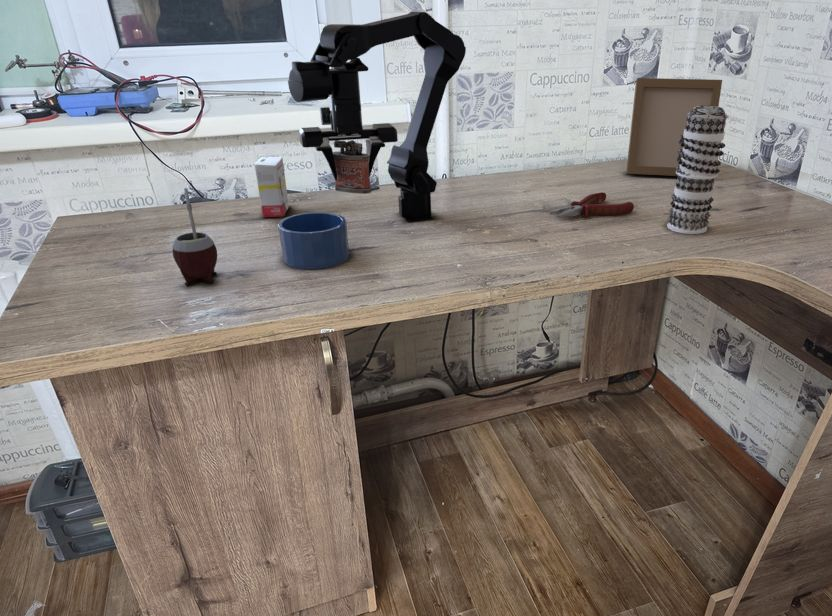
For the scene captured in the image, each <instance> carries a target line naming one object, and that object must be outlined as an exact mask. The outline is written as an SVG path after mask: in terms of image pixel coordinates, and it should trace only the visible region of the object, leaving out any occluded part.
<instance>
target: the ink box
mask: <svg viewBox="0 0 832 616" xmlns="http://www.w3.org/2000/svg"><path fill="white" fill-rule="evenodd" d="M253 165H254V170H255V176H256V182H257V183H256V184H257V190H258V197H259V203H260V209H261V216H262V218H279V217H280V218H285V215H286V214H287V211H288V209H289V208H290V202H289V196H288V190H287V189H288V188H287V181H286V174H285V168H284V158H283V157H282V156H261V157H260V158H259V159H258V160H257V161H256V162H255V163H254V164H253Z"/></svg>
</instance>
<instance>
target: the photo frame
mask: <svg viewBox="0 0 832 616" xmlns="http://www.w3.org/2000/svg"><path fill="white" fill-rule="evenodd" d="M722 85H723V79H706V78H705V79H703V78H702V79H701V78H698V79H697V78H661V77H659V78H655V77H637V78H636V79H635V85H634V87H635V88H634V96H633V97H634V98H633V105H632V115H631V125H630V134H629V141H628V142H629V143H628V152H627V161H626V171H625V174H628V175H649V176H650V175H651V176H654V175H655V176H671V177H672V176H673V177H677V176H678V175H677V174H676V168H677V166H678V165H680V164H678V163H677V162H678V161H677V158H678V156H679V154H678V151H679V149H680V148H682V147H681V146H680V144H679V140H680V139H681V136H680V135H682V134H684V129H685V128H686V122H687V113H690V112H691V110H692V109H693V108H694V107H696V106H703V105H706V106H717V107H720V99H721V92H722V87H723V86H722Z"/></svg>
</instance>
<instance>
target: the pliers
mask: <svg viewBox="0 0 832 616" xmlns="http://www.w3.org/2000/svg"><path fill="white" fill-rule="evenodd" d="M606 200H607V194H606V192H602V191H601V192H596V193H591V194H588V195H587V196H585V197H584V198H582V199H581V200H579V201H577V200H574V201H572V202H571V203H570V205H568V206H565V207H562V208H559V209H556V210H553V211H551V212H549V213H548V215H550V216H553V215H554V216H556V218H565V217H566V218H567V217H576V216H578V215H581V216H583V217H584V218H588V217H589V216H619V215H625V214H629V213H631V212H633V211H634V207H635V205H634V203H633V202H631V201H626V202H622V203H604V202H605V201H606ZM603 203H604V204H603Z"/></svg>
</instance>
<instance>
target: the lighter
mask: <svg viewBox="0 0 832 616" xmlns="http://www.w3.org/2000/svg"><path fill="white" fill-rule="evenodd" d="M333 147H334V148H338V149H339V150H338V151H333V156H334V161H335V166H336V171H337V180H335V179H334V190H335V192H342V193H348V194H360V195H366V194H371V193H372V186H371V181H370V180H371V178H370V177H369V164H368V159H369V154H366V153H364V152H363V149H364V147H363V143H360V142H356V141H355V140H354V139H353V140H337V141H333Z"/></svg>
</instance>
